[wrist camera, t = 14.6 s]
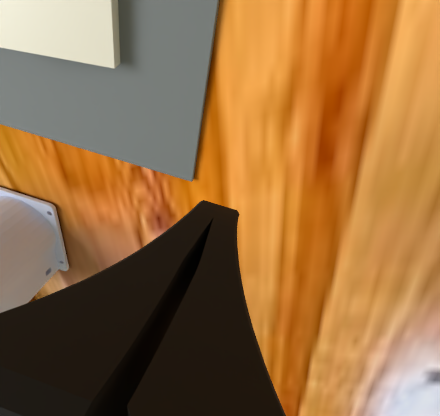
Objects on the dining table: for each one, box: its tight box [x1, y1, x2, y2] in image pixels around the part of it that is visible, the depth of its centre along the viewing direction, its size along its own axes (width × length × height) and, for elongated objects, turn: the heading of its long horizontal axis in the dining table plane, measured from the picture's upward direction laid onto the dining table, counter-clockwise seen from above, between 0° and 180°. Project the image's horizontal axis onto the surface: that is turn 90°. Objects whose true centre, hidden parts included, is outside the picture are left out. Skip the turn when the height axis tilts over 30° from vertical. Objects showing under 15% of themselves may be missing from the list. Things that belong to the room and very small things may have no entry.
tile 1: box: [0, 0, 120, 69], centre depth 15 cm, size 5×1×8 cm
